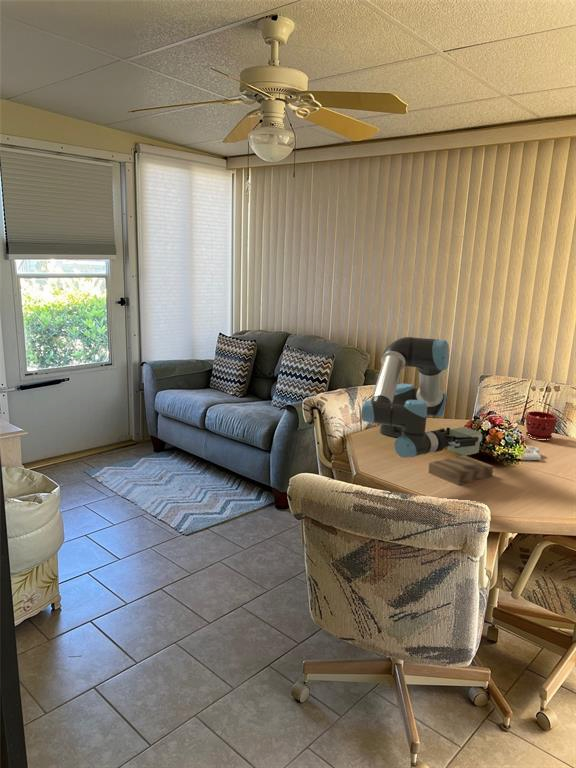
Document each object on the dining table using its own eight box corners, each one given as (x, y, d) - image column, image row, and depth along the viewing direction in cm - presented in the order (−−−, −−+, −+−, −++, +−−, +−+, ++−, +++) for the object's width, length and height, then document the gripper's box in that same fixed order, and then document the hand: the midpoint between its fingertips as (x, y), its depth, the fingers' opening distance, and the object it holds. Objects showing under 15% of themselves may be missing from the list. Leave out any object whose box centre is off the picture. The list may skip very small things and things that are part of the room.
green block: (461, 446, 220) (463, 426, 218) (478, 452, 213) (481, 432, 212) (447, 449, 215) (449, 429, 213) (465, 455, 209) (467, 434, 207)
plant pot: (520, 433, 278) (523, 409, 276) (548, 436, 277) (552, 412, 274) (527, 441, 266) (531, 416, 263) (557, 444, 264) (560, 419, 262)
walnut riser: (461, 464, 228) (463, 455, 227) (492, 475, 216) (493, 465, 216) (428, 472, 216) (429, 462, 215) (458, 485, 205) (459, 474, 204)
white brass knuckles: (505, 461, 236) (491, 450, 250) (547, 462, 237) (531, 451, 251) (507, 453, 235) (492, 442, 249) (549, 455, 236) (532, 444, 251)
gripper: (408, 444, 211) (448, 436, 224) (453, 460, 195) (493, 451, 208) (410, 424, 210) (450, 418, 223) (456, 439, 193) (496, 431, 206)
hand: (471, 434), depth 215 cm, fingers closed on green block, 8 cm apart
